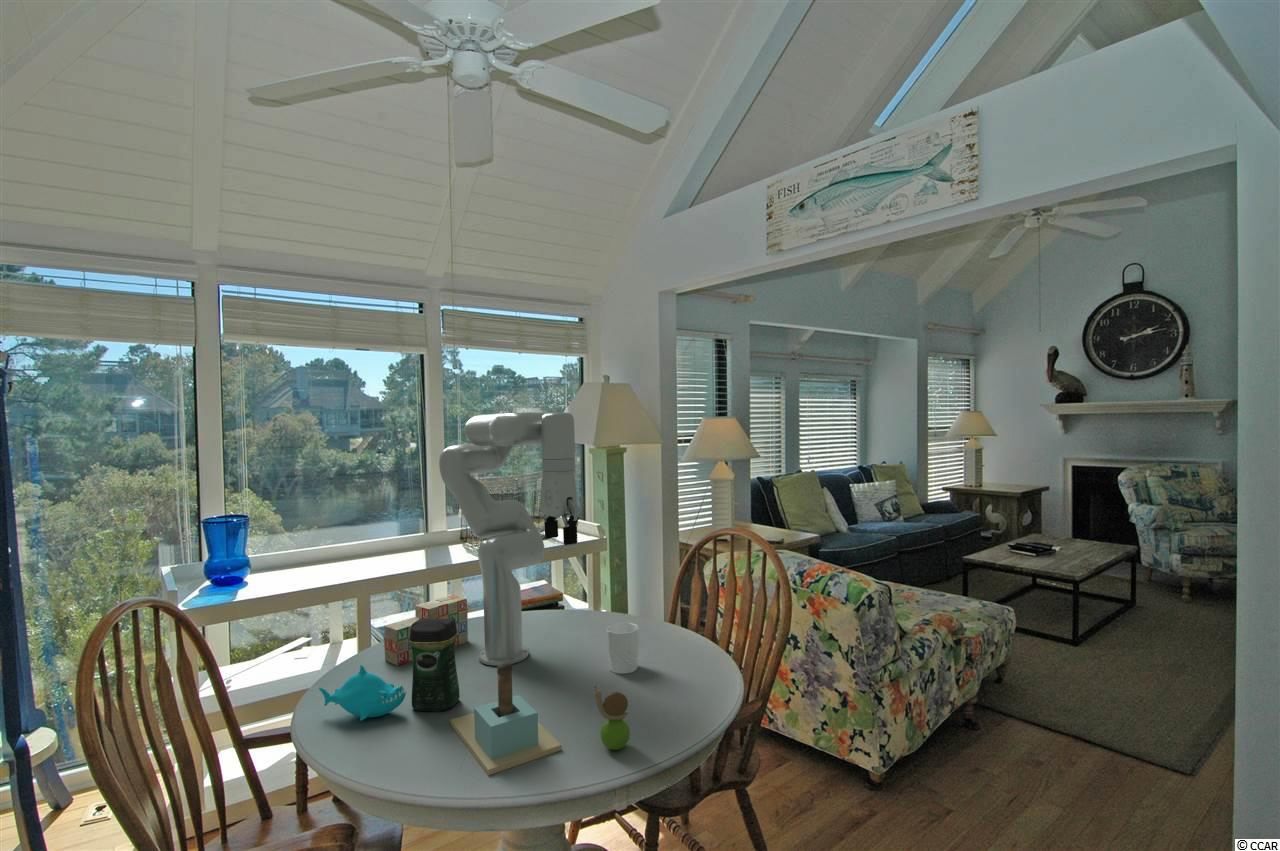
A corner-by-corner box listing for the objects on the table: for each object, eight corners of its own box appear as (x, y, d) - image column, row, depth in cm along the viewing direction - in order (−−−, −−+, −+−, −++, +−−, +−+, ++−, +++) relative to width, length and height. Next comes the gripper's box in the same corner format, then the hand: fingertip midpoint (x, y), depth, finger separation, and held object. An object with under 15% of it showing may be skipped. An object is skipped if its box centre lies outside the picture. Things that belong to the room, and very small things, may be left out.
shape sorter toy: (450, 724, 126) (449, 690, 125) (516, 705, 133) (515, 673, 133) (488, 775, 107) (487, 735, 107) (561, 749, 115) (560, 712, 115)
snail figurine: (595, 741, 118) (593, 678, 117) (629, 739, 118) (627, 676, 118) (595, 757, 112) (593, 691, 112) (631, 754, 113) (629, 689, 112)
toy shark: (396, 726, 126) (395, 673, 125) (307, 728, 125) (305, 675, 125) (414, 704, 135) (412, 654, 135) (331, 706, 135) (329, 657, 135)
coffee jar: (464, 696, 138) (461, 613, 138) (450, 713, 130) (447, 625, 130) (422, 696, 139) (419, 613, 139) (405, 712, 131) (403, 625, 131)
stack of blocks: (397, 666, 157) (396, 618, 156) (384, 661, 161) (383, 613, 160) (468, 641, 173) (467, 597, 173) (455, 637, 177) (453, 594, 177)
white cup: (641, 662, 155) (640, 622, 155) (638, 675, 147) (637, 633, 147) (610, 662, 156) (609, 622, 156) (605, 674, 148) (604, 633, 148)
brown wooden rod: (496, 740, 117) (495, 665, 117) (510, 736, 118) (508, 662, 119) (502, 746, 115) (500, 669, 115) (515, 741, 116) (514, 666, 116)
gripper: (528, 465, 147) (530, 537, 148) (560, 469, 133) (562, 549, 133) (557, 463, 152) (559, 533, 152) (591, 467, 137) (593, 544, 137)
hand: (560, 540), depth 143 cm, fingers open, 9 cm apart
